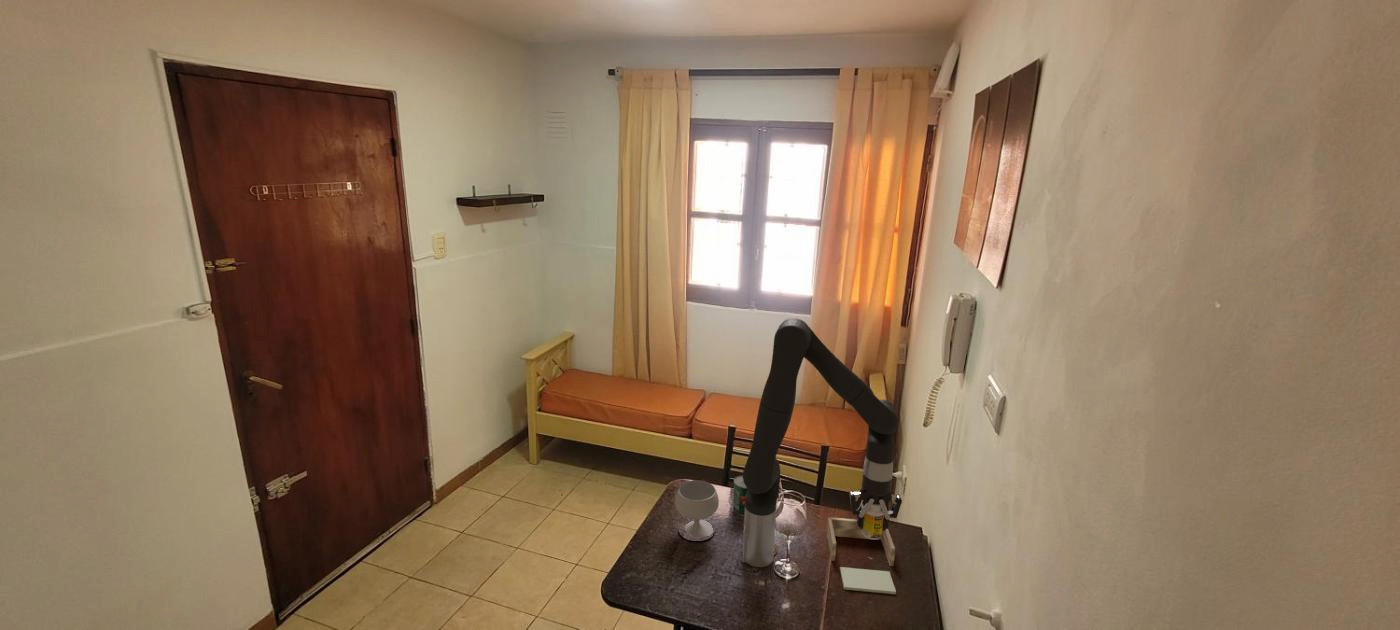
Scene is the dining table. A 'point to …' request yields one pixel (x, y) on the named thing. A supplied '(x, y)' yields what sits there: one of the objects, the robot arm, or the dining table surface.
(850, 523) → the cubby
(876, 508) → the supplement bottle
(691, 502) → the chalice
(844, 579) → the mat
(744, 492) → the canned tomato
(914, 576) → the dining table surface
